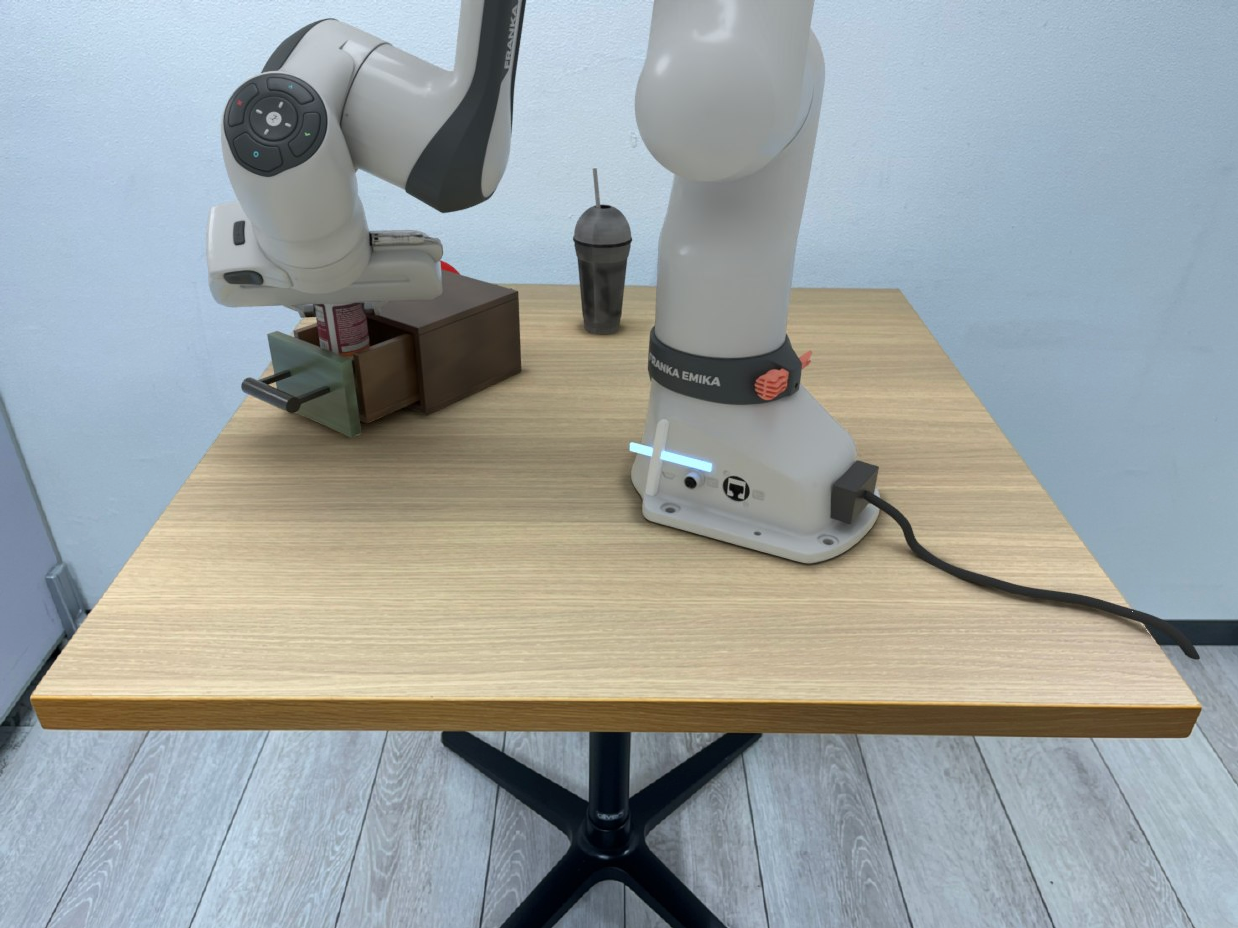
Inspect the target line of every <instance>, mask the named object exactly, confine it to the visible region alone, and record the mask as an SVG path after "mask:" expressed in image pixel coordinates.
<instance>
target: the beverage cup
mask: <svg viewBox="0 0 1238 928" xmlns="http://www.w3.org/2000/svg"><path fill="white" fill-rule="evenodd" d="M592 177H593V188H594V199H595V205H593V206H590V207H589V208H587V209H586V210H584V212H582V214H581V215H579V218H578V220H577V221H576V224H575V225H574V226H575V227H574V232H573V236H572V240H573V243H574V249H575V250H574V251H575V256H576V258H577V267H578V268H577V269H578V281H579V290H580V301H581V314H582V319H583V328H584V329H583V330H584V331H586V332H587V333H589V334H593V335H600V336H601V335H610V334H611V335H612V334H614V333H617V332H618V331H619V330H620V325H621V318H622V312H623V303H624V296H625V295H624V293H625V284H626V275H627V265H628V258H629V256H630V252H631V246H632V245H631V244H632V242H633V236H632V231H631V226H630V224H629V221H628V220H627V218H626V216H625V215H624V213H623V212H621V210H620V209H619V208H617V207H615V206H612V205H610V204H603V203H602V204H601V199H600V188H599V187H600V186H599V176H598V168H596V167H594V168H592Z"/></svg>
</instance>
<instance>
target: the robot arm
mask: <svg viewBox="0 0 1238 928" xmlns="http://www.w3.org/2000/svg"><path fill="white" fill-rule="evenodd" d="M526 6H527V0H461V1H460V9H459V18H458V28H457V37H456V46H455V56H454V65H453V70H452V71H451V70H447V69H444V68H442V67H439V66H438V65H435V64H433V63H432V62H429V61H427V60H424V59H422V58H420V57H418V56H416V55H413V54H412V53H409V52H407V51H405V50H403V49H401V48H398V47H396V46H395V45H393V43H390V42H389V41H387V40H384V39H382V38H380V37H378V36H376V35H373V34H371V33H369V32H368V31H367V32H366V31H364V30H362V29H360V28H357V27H356V26H353V25H350V24H349V23H346V22H342V21H340V20H338V19H336V18H331V17H329V18H328V17H327V18H324V19H319V20H316V21H313V22H310V23H309V24H307V25H305V26H303V27H301V28H300V29H298V30H297V31H295V32H294V33H292V34H291V35H289V36H288V37H286V38H285V39H284V40H283V41H282V42H280V44H279V45H278V46H277V47H276V49H274V50H273V52H272V53H271V55H270V56H269V58H267V61H266V62H265V65H264V66H263V68H262V70H261V72H260V73H258V74H255V75H252V76H250V77H249V78H247V79H245V80H244V81H243V82H241V83H240V84H239V85H238V86H237V87H236V88H235V89H234V90H233V92H232V93H231V95H230V96H229V97H228V99H227V101H226V102H225V104H224V107H223V110H222V113H221V121H220V144H221V152H222V158H223V163H224V167H225V170H226V173H227V177H228V179H229V182H230V185H231V188H232V190H233V192H234V195H235V197H236V199H237V200H233V201H230V202H225V203H220V204H216V205H213V206H211V207H210V208H209V211H208V214H207V215H208V216H207V223H206V232H205V253H206V254H205V255H206V266H207V279H208V280H207V281H208V282H207V284H208V289H209V291H210V294H211V296H212V299H213V300H214V301H215V302H216V304H218V305H220V306H223V307H226V308H232V309H233V308H253V307H257V308H258V307H278V306H279V307H280V306H282V307H284V308H287V309H289V310H291V311H294V312H297V313H298V315H299V317H300V318H301V319H309V318H316V314H315V308H314V304H334V303H360V302H363V306H364V312H365V315H380V314H381V310H380V308H381V307H382V306H384V305H385V304H386V303H387V302H389V301H411V300H432V299H435V298H437V297H438V296H440V295H441V294H442V292H443V291H442V274H441V263H440V260H441V261H442V258H443V256H444V245H443V243H442V240H441V239H440V238H439V237H432V236H429V234H426V233H425V232H423V231H419V230H414V229H386V230H385V229H382V230H369V225H368V224H369V223H368V220H367V216H366V212H365V208H364V205H363V202H362V200H361V197H360V195H359V184H358V178H357V174H356V173H357V172H358V171H359V170H360V171H363V172H365V173H367V174H369V175H371V176H373V177H375V178H378V179H380V180H382V181H384V182H386V183H389V184H391V185H393V186H395V187H397V188H400V189H402V190H404V191H405V193H407V194H408V195H410V196H411V197H413V198H415V199H417V200H418V201H419V202H421V203H423V204H426V205H427V206H429V207H430V208H431V209H434V210H436V211H438V212H439V213H441V214H449V213H454V212H455V213H456V212H459V211H463V210H468V209H470V208H473V207H475V206H478V205H480V204H482V203H485V202H486V201H488V200H490V199H491V198H492V196H493V195H494V193H495V192H496V191H497V188H498V186H499V185H500V183H501V181H502V179H503V178H504V175H505V172H506V169H507V166H508V162H509V158H510V152H511V145H512V143H511V142H512V133H513V121H514V120H513V119H514V101H515V87H516V78H517V77H516V76H517V68H518V62H519V56H520V55H519V54H520V47H521V41H522V33H523V26H524V20H525V12H526ZM814 6H815V0H653V5H652V12H651V19H650V27H649V34H648V41H647V47H646V56H645V59H644V63H643V65H642V68H641V71H640V74H639V77H638V80H637V84H636V88H635V93H634V94H635V95H634V116H635V122H636V126H637V129H638V133H639V135H640V138H641V140H642V142H643V144H644V146H645V148H646V149H647V151H648V152H649V154H650V155H651V156H652V157H653V158H654V159H655V160H656V162H657V163H658V164H660V165H661V166H662V167H663V168H664V169H665V170H667V171H669V172H670V173H672V174H673V180H672V184H671V189H670V194H669V199H668V204H667V208H666V213H665V216H664V220H663V223H662V226H661V229H660V232H659V235H658V241H657V242H658V243H657V265H656V266H657V267H656V291H655V295H656V296H655V313H654V314H655V315H654V317H655V318H654V325H653V326H652V327H651V329H650V331H649V340H648V341H649V342H648V352H647V353H648V357H647V371H648V376H649V381H650V389H649V397H648V405H647V411H646V417H645V422H644V426H643V431H642V435H641V440H640V443H636V442H632V441H631V442H630V443H629V451H630V452H633V453H636V456H635V458H634V461H633V464H632V465H631V471H630V479H631V483H632V484H633V486H634V488H635V490H636V491H637V492H638V494H639V495H640V497H641V499H642V505H641V512H642V516H643V517H644V518H645V519H646V520H648V521H649V522H652V523H655V524H660V525H663V526H667V527H670V528H674V529H678V530H682V531H685V532H689V533H693V534H696V535H700V536H703V537H707V538H711V539H714V540H718V541H720V542H721V541H722V542H725V543H728V544H733V545H736V546H738V547H739V546H740V547H743V548H747V549H750V550H754V551H758V552H762V553H766V554H769V555H773V556H776V557H780V558H783V559H787V560H790V561H794V562H799V563H803V564H816V563H820V562H824V561H828V560H830V559H833V558H836V557H837V556H839V555H842V554H843V553H846V552H847V551H848V550H850V549H851V548H853V547H854V546H855V545H856V544H858V543H859V542H860V541H861V540H862V539H863V538H864V537H866V535H867V534H868V533H869V532H870V530H871V529H872V528H873V527H874V525H875V524H876V522H877V520H878V517H879V515H880V511H882V512H884V514H887V515H888V516H889V517H890V518H891V519H892V520H893V521H895V522H896V524H897V525H898V526H899V527H900V528H901V531H902V533H903V536H904V539H905V542H906V544H907V546H908V547H909V548H910V550H911V551H912V552H913V553H915V554H916V555H917V556H918V557H919V558H920V559H922V560H923V561H924V562H925V563H926V562H927V563H928V564H929V565H931V566H933V567H936V568H937V569H939V570H941V571H944V572H945V573H947V574H949V575H951V576H954V577H956V578H958V579H962V580H965V581H967V582H972V583H974V584H978V585H981V586H985V587H988V588H992V589H995V590H999V591H1000V592H1004V593H1009V594H1012V595H1016V596H1019V597H1025V598H1031V599H1036V600H1043V601H1049V602H1050V601H1051V602H1059V603H1065V604H1066V603H1067V604H1073V605H1079V606H1083V607H1087V608H1091V609H1096V610H1099V611H1102V612H1106V613H1109V614H1112V615H1115V616H1117V617H1121V618H1125V619H1129V620H1131V621H1135V622H1139V623H1142V624H1144V625H1147V626H1150V627H1152V628H1154V629H1156V630H1158V631H1160V632H1162V633H1163V634H1165V635H1166V636H1167V637H1169V638H1170V639H1171V640H1172V641H1173V642H1174V643H1175V644H1177V646H1178V648H1180V650H1181V651H1182V652H1183V653H1184V655H1185V656H1186V657H1188V658H1190V659H1192V660H1195V661H1196V660H1197V661H1198V660H1201V657H1200V654H1199V652H1198V651H1197V649H1196V647H1195V646H1194V645H1193V643H1192V642H1191V640H1189V639H1188V637H1187V636H1186V635H1185V634H1184V633H1182V631H1180V629H1178V628H1177V627H1176V626H1174V625H1173V624H1171V623H1170V622H1168V621H1166V620H1164V619H1163V618H1160V617H1158V616H1155V615H1153V614H1150V613H1148V612H1144V611H1140V610H1136V609H1134V608H1130V607H1127V606H1123V605H1120V604H1116V603H1113V602H1110V601H1107V600H1105V599H1104V600H1103V599H1101V598H1098V597H1097V598H1096V597H1092V596H1088V595H1083V594H1078V593H1072V592H1067V591H1059V590H1051V589H1043V588H1036V587H1030V586H1025V585H1020V584H1015V583H1012V582H1008V581H1005V580H1001V579H998V578H995V577H991V576H988V575H985V574H982V573H977V572H974V571H971V570H967V569H964V568H961V567H958V566H955V565H954V564H950V563H949V562H947V561H944V560H943V559H940V558H939V557H937V556H936V555H935V554H933V553H931V552H930V551H929V550H927V549H926V548H925V547H924V546H922V544H920V543H919V542H918V540H917V538H916V536H915V533H914V530H913V527H912V525H911V523H910V521H909V520H908V518H907V517H906V516H905V515H904V514H903V513H902V512H900V510H899V509H897V508H896V507H895V506H894V505H892V504H891V503H889V502H888V501H886V500H884V499H882V498H881V494H880V491H879V489H878V487H877V480H878V474H879V470H880V467H879V466H878V465H876V464H873V463H869V462H865V461H862V460H859V457H858V451H857V450H858V449H857V445H856V442H855V440H854V438H853V436H852V434H851V433H850V432H849V431H847V429H846V428H845V427H843V425H842V424H840V422H838V420H836V419H835V417H834V416H833V415H831V413H830V412H829V411H828V410H827V409H826V408H825V407H824V406H823V405H822V403H820V402H819V401H818V399H817V398H815V397H814V396H813V394H812V393H811V392H810V391H809V390H808V389H807V388H806V387H805V386H804V385H803V384H802V382H801V380H802V371H803V370H804V369H805V368H807V367H808V366H809V365H810V364H811V363H812V360H810V359H811V357H812V355H813V351H812V350H808V351H806V352H805V353H803V354H802V355H800V356H798V355H797V352H795V350H794V348H793V345H792V343H791V339H790V338H789V335H788V334H787V328H788V320H789V311H790V305H791V304H790V302H791V294H792V286H793V277H794V269H795V262H796V261H795V260H796V252H797V246H798V240H799V239H798V238H799V233H800V230H801V229H800V228H801V223H802V219H803V214H804V208H805V203H806V197H807V192H808V187H809V181H810V177H811V176H810V175H811V170H812V165H813V159H814V153H815V149H816V148H815V147H816V141H817V135H818V134H817V133H818V130H819V129H818V128H819V123H820V116H821V109H822V103H823V97H824V91H825V84H826V83H825V82H826V62H825V57H824V53H823V49H822V47H821V44H820V42H819V38H818V37H817V35H816V34H815V32H814V30H813V29H812V28H811V26H812V19H813V13H814ZM1132 611H1133V612H1132Z"/></svg>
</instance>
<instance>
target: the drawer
mask: <svg viewBox="0 0 1238 928" xmlns="http://www.w3.org/2000/svg"><path fill="white" fill-rule="evenodd" d="M366 319H367V327H368V335H369V343H370V347H368V348H366V349H363V350H360V351H358V352H355V353H353V356H354V360H351V359H350V358H347V357H344V356H342V355H339V354H336V353H334V352H331V351H329V350H326V349H323V348H321V347H320V340H319V333H318V327H317V322H315V323H312V324H309V325H306V326H303V327H300V328H297V329H294V330H293V336H291V335H289V334H287V333H285V332H281V331H279V330H275V331H273V332H270V333H267V334H266V337H267V341H268V347H269V353H270V358H271V365H272V369H273V370H272V371H273V374H270V375H268V376H265V377H263V378H260V379H256V378H254V377H252V376H251V377H246V378H244V379H243V380H242V382H241V386H240V388H241V391H242V392H243V393H244V394H246V395H248V396H251V397H253V398H255V399H257V400H260V401H262V402H263V403H266V404H268V405H270V406H273V407H275V408H277V409H279V410H281V411H284V412H286V413H288V414H295V413H296V414H298V415H301V416H303V417H305V418H307V419H309V420H312V421H314V422H316V423H319V424H321V425H322V426H325V427H327V428H329V429H331V430H333V431H335V432H338V433H341V434H343V435H345V436H347V437H350V438H354V437H357V436H359V435H361V434H362V426H361V422H363V423H365V424H370V423H372V422H374V421H376V420H378V419H379V420H380V419H381V418H383V417H385V416H387V415H390V414H392V413H394V412H397V411H399V410H401V409H404V408H407V407H406V406H408V405H410V404H412V403H415V402H417V401H419V400H420V393H419V383H418V373H417V362H416V352H415V342H414V333H411V332H408V331H405V330H402V329H399V328H396V327H393V326H390V325H387V324H384V323H381V322H379V321H376V320H373V319H370V318H367V317H366ZM274 383H275V384H276V385H275V386H276V387H275V386H272V384H274Z"/></svg>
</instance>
